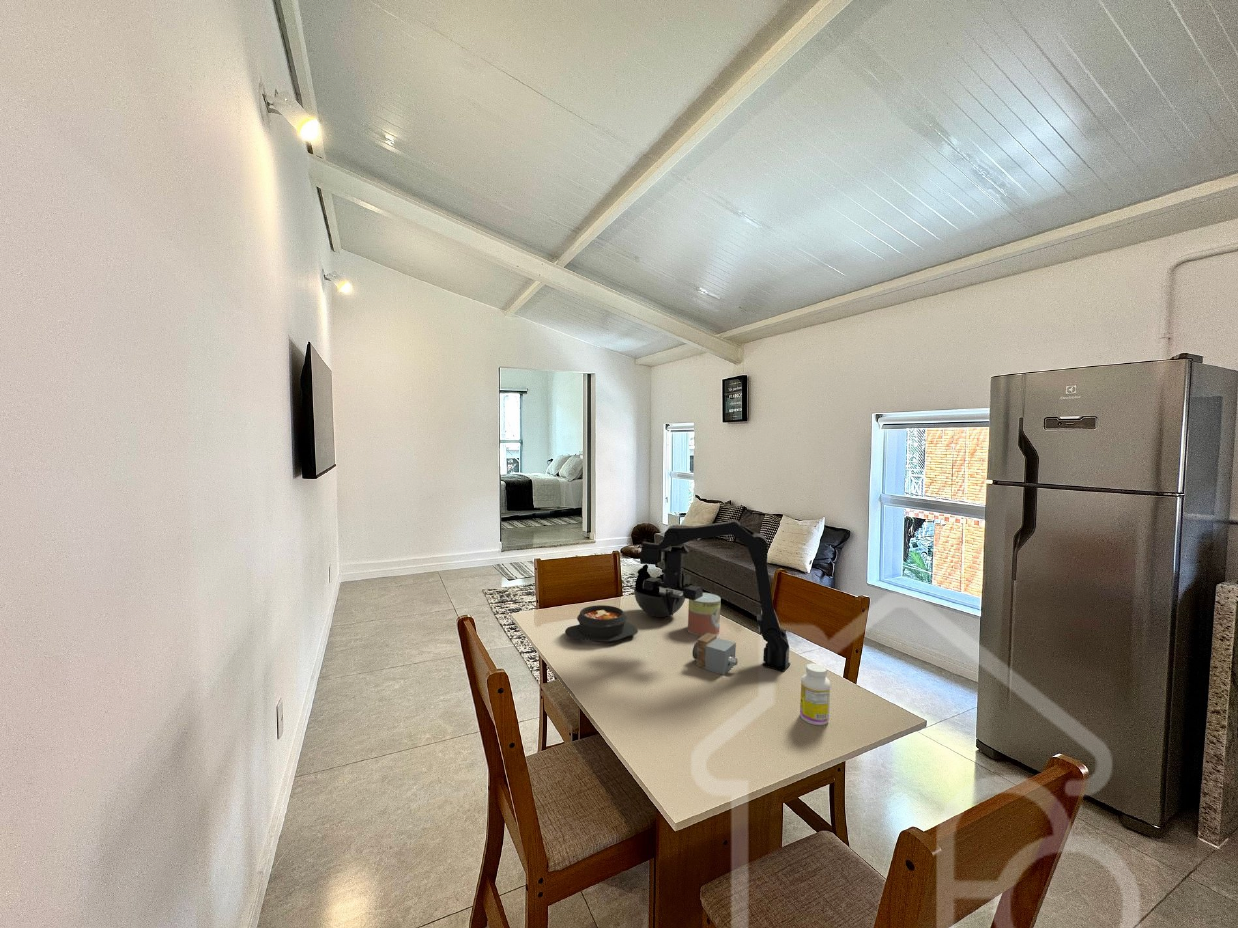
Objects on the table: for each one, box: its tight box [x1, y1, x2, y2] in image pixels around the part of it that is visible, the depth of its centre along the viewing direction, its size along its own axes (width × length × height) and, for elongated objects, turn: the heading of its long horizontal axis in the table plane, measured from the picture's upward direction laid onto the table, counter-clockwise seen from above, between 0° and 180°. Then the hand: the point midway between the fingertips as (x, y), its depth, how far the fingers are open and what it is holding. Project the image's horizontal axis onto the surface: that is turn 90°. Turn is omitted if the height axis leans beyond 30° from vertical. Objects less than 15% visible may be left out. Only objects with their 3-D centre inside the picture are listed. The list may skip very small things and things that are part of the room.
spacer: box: [696, 633, 718, 669], centre depth 153 cm, size 3×7×8 cm, turn 145°
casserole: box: [564, 604, 639, 643], centre depth 172 cm, size 25×19×8 cm
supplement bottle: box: [799, 663, 831, 726], centre depth 124 cm, size 7×7×13 cm
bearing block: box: [704, 637, 737, 676], centre depth 151 cm, size 6×8×7 cm
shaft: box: [691, 641, 739, 667], centre depth 152 cm, size 13×5×5 cm, turn 55°
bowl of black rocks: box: [633, 564, 686, 618], centre depth 194 cm, size 20×20×19 cm
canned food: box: [687, 592, 722, 637], centre depth 180 cm, size 11×11×12 cm
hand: (671, 614), depth 160 cm, fingers closed
